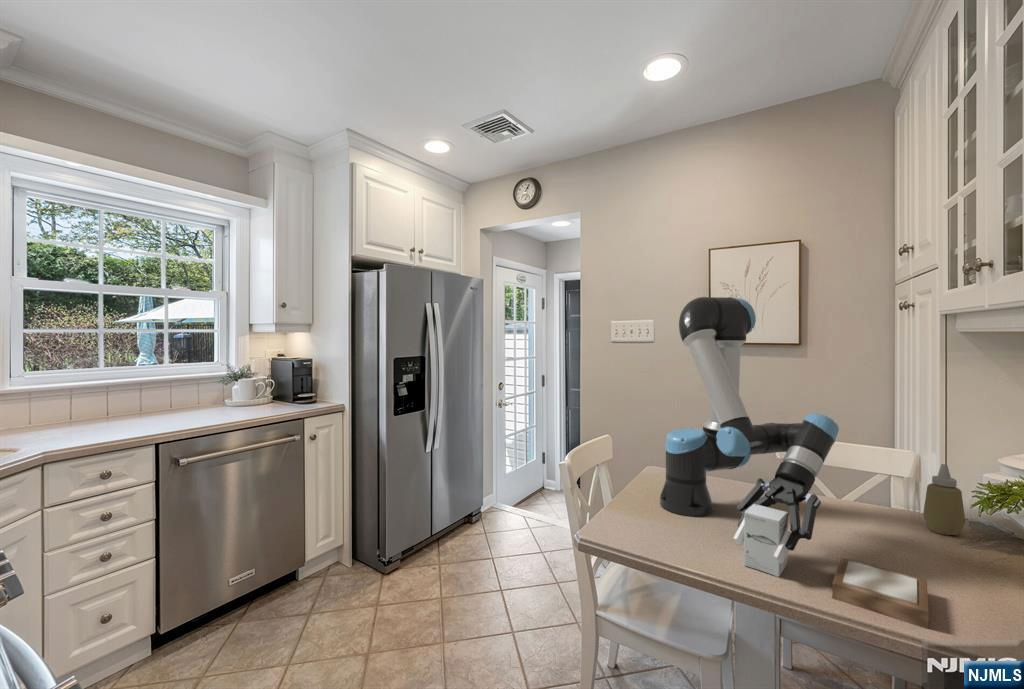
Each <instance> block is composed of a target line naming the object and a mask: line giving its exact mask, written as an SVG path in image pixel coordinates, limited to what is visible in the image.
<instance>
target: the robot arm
mask: <svg viewBox="0 0 1024 689" xmlns="http://www.w3.org/2000/svg"><path fill="white" fill-rule="evenodd" d="M756 317H757V316H756V313H755V310H754V307H753V306H752V304H750V303H749V302H748V301H747V300H745V299H742V298H740V297H739V298H738V297H730V296H729V297H720V296H719V297H717V296H716V297H712V296H711V297H709V296H701V297H696V298H693V299H692V300H690V301H689V302H688V303H687V304H685V306H684V307H683V309H682V310H681V312H680V315H679V319H678V330H679V335H680V338H681V341H682V343H683V345H684V346H685V347H688V349H689V351H690V354H691V357H692V359H693V361H694V363H695V366H696V370H697V371H698V373H699V376H700V379H701V381H702V383H703V386H704V388H705V391H706V394H707V396H708V417H707V420H706V422H704V423H703V424H702V429H700V428H694V427H693V428H677V429H674V430H672V431H670V432H668V434H667V436H666V437H665V446H664V449H665V481H664V484H663V487H662V489H661V493H660V494H659V495H660V496H659V505H660V507H662V508H663V509H664V510H666V511H667V512H671V513H674V514H677V515H681V516H689V517H701V516H707V515H709V514H711V513H713V500H712V496H711V494H710V491H709V488H708V485H707V472H713V471H723V470H734V469H737V468H741V467H744V466H745V465H747V463H748V462H749V461H750V459H751V456H752V455H753V456H754V455H764V454H766V455H767V454H774V453H785V454H784V457H783V458H782V462H780V464H779V465H778V468H777V469H776V472H775V473H774V474H775V475H774V478H773V479H772V480H770V481H767V480H766V481H765V480H763V478H758V479H757V481H756V484H755V486H754V487H753V488H752V489H751V490H750V491H749V493H747V495H746V496H745V497H744V498H743V499H742V500H741V501H740V503H739V504H738V505H737V506H736V508H737V510H738V511H739V512H740V514H741V517H740V519H739V520H738V522H737V525H736V526H737V527H738V529H737V530H736V532H735V534H734V536H733V540H734V541H735V542H736V544H737V545H739V546H743V545H744V517H745V511H746V510H747V509H748V508H750V507H751V506H752V505H753V504H757V505H761V506H765V507H769V508H770V506H772V505H775V504H777V503H778V504H785V506H788V511H789V512H788V514H789V522H790V528H789V530H788V531H787V530H786V532H785V534H784V536H783V538H782V540H781V542H780V544H779V546H778V548H777V550H776V552H775V554H774V557H775V558H776V560H777V561H778V562H779V563H781V564H783V562H784V560H785V558H786V556H787V557H788V553H789V552H791V551H792V552H793V551H795V548H796V547H797V545H798V542H799V541H800V540H801V539H805V540H807V541H809V540H812V537H813V531H814V526H815V522H816V521H815V520H816V514H817V510H818V508H819V507H820V505H821V503H822V502H821V499H819V498H818V495H817V494H815V493H812V494H810V493H809V492H810V491H811V489H812V488H813V485H814V483H815V481H816V478H817V476H818V474H819V473H820V471H821V468H822V467H823V465H824V463H825V460H826V458H827V457H828V454H829V453H830V451H831V449H832V447H833V446H834V444H835V442H836V439H837V436H838V434H839V430H840V428H839V425H838V424H837V423H836V422H835V421H834V419H832V418H831V417H829V416H827V415H824V414H822V413H812V412H811V413H809V414H807V415H806V416H805V417H804V419H802V422H800V423H798V422H795V423H794V422H793V423H779V422H778V423H776V422H770V423H769V422H766V423H761V424H754V425H753V423H752V421H751V419H750V416H749V415H748V414H749V413H748V412H747V410H746V407H745V405H744V403H743V401H742V398H741V395H740V375H741V374H740V372H741V371H740V370H741V367H740V366H741V347H742V345H744V343H746V342H747V335H748V334H749V333H751V332H752V330H753V329H754V328H755V326H756V321H757V320H756V319H757V318H756ZM768 489H769V490H768ZM803 501H805V502H806V503H805V507H804V512H803V517H802V522H801V517H800V511H801V510H800V503H801V502H803Z"/></svg>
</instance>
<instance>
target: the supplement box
mask: <svg viewBox="0 0 1024 689" xmlns="http://www.w3.org/2000/svg"><path fill="white" fill-rule="evenodd" d="M788 523H789V512H788V511H784V510H780V509H776V508H773V507H770V506H769V507H765V506H761V505H757V504H753V505H752V506H751V507H750V508H748V509H747V510H746V511H745V517H744V542H743V566H745V567H748V568H752V569H755V570H758V571H761V572H764V573H767V574H770V575H772V576H774V577H777V578H779V577H780V576H781V574H783V571H784V570H785V569H786V568H787V564H788V555H787V556H786V558H785V560H784V562H783V564H781V563H779V562H778V561H777V560H776V558H775V557H774V554H775V552H776V550H777V548H778V546H779V544H780V542H781V540H782V538H783V536H784V534H785V532H786V530H787V531H789V530H788V529H789V526H788V525H789V524H788Z"/></svg>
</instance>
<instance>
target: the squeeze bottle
mask: <svg viewBox="0 0 1024 689" xmlns="http://www.w3.org/2000/svg"><path fill="white" fill-rule="evenodd" d="M957 484H958V483H957V479H955V478H953V477H951V473H950V470H949V467H948V464H943V463H942V464H940V467H939V470H938V473H937V475H933V476H932V477H931V483H929V484H928V485H927V486H926V493H925V499H924V505H923V506H924V507H923V512H922V513H923V514H922V515H923V518H924V520H925V522H926V523H925V524H926V526H927V527H928V529H929V530H930V531H932V532H934V533H936V534H940V535H944V534H945V535H944V536H949V535H958V534H959V535H960V534H961V533H962V532H961V531H962V530H963V528H964V526H965V525H966V516H965V508H964V500H963V492H962V490H961V489H960V488H958V487H957ZM959 535H958V536H959Z"/></svg>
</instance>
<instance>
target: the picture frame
mask: <svg viewBox="0 0 1024 689" xmlns="http://www.w3.org/2000/svg"><path fill="white" fill-rule="evenodd" d="M831 585H832V587H831V588H832V596H831V597H832V599H835V600H838V601H841V602H843V603H845V604H846V603H847V604H850V605H853V606H857V607H859V608H863V609H865V610H868V611H871V612H875V613H878V614H881V615H884V616H887V617H890V618H893V619H897V620H900V621H903V622H906V623H909V624H911V625H915V626H918V627H921V628H924V629H929V612H930V611H929V598H928V581H927V579H925V578H920V577H917V576H913V575H909V574H906V573H901V572H899V571H894V570H891V569H886V568H883V567H879V566H876V565H872V564H868V563H864V562H860V561H857V560H853V559H849V558H846V557H841V556H840V559H839V562H838V564H837V568H836V572H835V575H834V577H833V580H832V584H831Z"/></svg>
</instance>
